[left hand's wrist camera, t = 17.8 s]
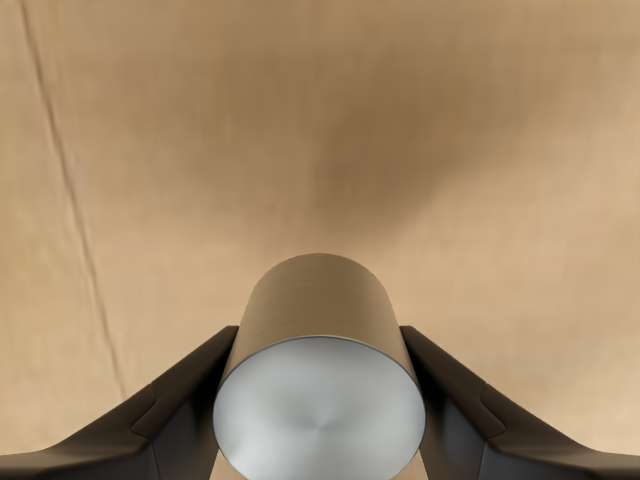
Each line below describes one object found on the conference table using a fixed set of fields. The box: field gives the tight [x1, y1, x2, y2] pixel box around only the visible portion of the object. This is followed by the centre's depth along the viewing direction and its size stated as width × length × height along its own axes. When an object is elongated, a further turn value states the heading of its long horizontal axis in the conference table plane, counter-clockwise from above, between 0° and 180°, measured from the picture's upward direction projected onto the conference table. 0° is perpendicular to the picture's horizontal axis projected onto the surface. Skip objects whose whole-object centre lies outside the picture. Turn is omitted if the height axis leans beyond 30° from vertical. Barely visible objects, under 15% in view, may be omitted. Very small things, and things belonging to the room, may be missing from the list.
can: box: [211, 253, 427, 480], centre depth 11 cm, size 5×5×4 cm
